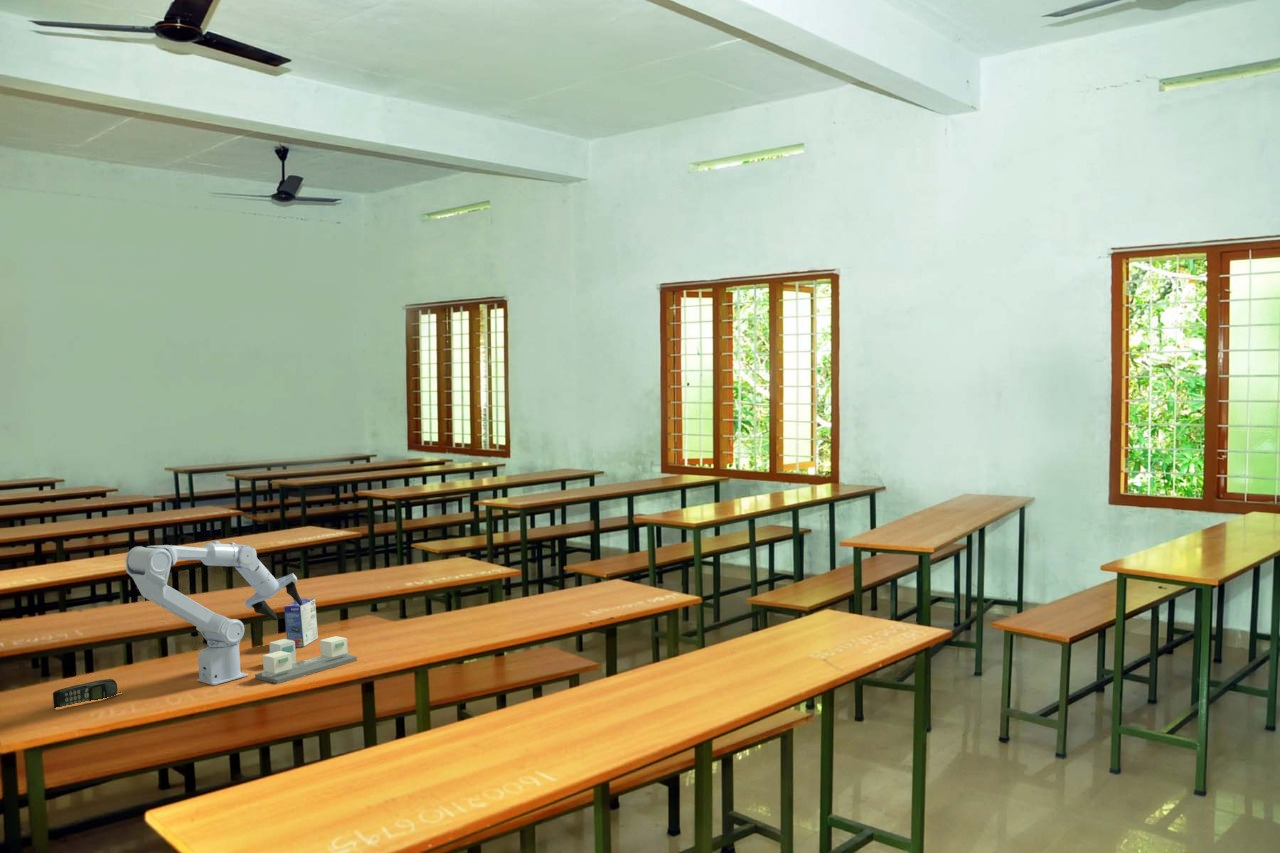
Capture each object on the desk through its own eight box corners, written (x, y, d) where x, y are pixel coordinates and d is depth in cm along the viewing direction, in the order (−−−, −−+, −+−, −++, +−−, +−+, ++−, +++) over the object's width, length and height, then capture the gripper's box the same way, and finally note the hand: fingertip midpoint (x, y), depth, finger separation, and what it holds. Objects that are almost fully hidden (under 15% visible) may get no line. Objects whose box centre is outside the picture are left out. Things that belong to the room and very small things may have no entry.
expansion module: (281, 667, 261) (280, 644, 260) (270, 664, 264) (269, 642, 264) (296, 663, 264) (295, 641, 264) (285, 660, 267) (284, 638, 267)
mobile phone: (53, 692, 229) (123, 676, 240) (50, 689, 232) (119, 674, 242) (55, 713, 230) (124, 696, 240) (52, 710, 232) (121, 693, 242)
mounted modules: (275, 673, 247) (274, 658, 247) (263, 670, 250) (262, 655, 250) (348, 653, 264) (347, 638, 264) (336, 650, 268) (335, 636, 268)
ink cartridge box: (300, 638, 291) (298, 590, 291) (318, 638, 291) (316, 590, 290) (285, 647, 281) (283, 597, 281) (304, 647, 281) (301, 597, 280)
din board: (277, 683, 245) (277, 679, 245) (255, 678, 251) (254, 674, 251) (356, 660, 264) (356, 656, 264) (334, 655, 270) (334, 652, 270)
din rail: (269, 678, 247) (269, 674, 247) (262, 676, 249) (261, 672, 249) (349, 655, 266) (349, 651, 266) (341, 653, 268) (341, 649, 268)
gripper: (282, 555, 265) (310, 588, 273) (234, 584, 263) (263, 615, 271) (285, 570, 260) (313, 602, 267) (235, 599, 258) (265, 631, 265)
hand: (288, 610), depth 269 cm, fingers open, 7 cm apart
